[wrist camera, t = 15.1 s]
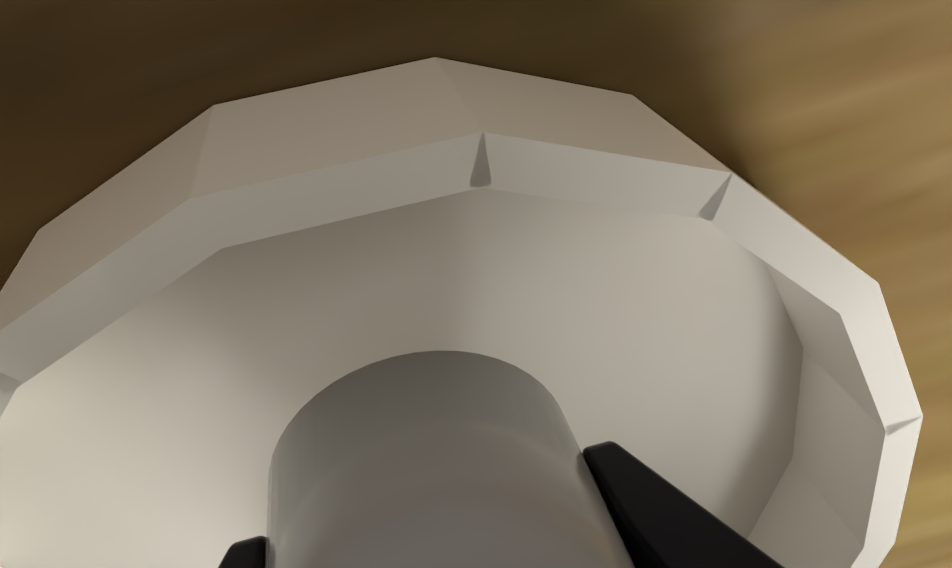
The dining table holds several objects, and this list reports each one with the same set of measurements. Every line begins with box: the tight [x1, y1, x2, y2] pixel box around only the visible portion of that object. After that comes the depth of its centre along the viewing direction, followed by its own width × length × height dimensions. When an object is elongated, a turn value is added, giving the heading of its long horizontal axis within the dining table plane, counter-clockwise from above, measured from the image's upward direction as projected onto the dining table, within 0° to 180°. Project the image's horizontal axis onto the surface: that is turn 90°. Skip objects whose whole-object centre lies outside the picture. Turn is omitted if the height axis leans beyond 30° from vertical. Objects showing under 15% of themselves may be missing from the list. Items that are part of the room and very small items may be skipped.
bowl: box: [0, 57, 923, 568], centre depth 13 cm, size 15×15×3 cm
